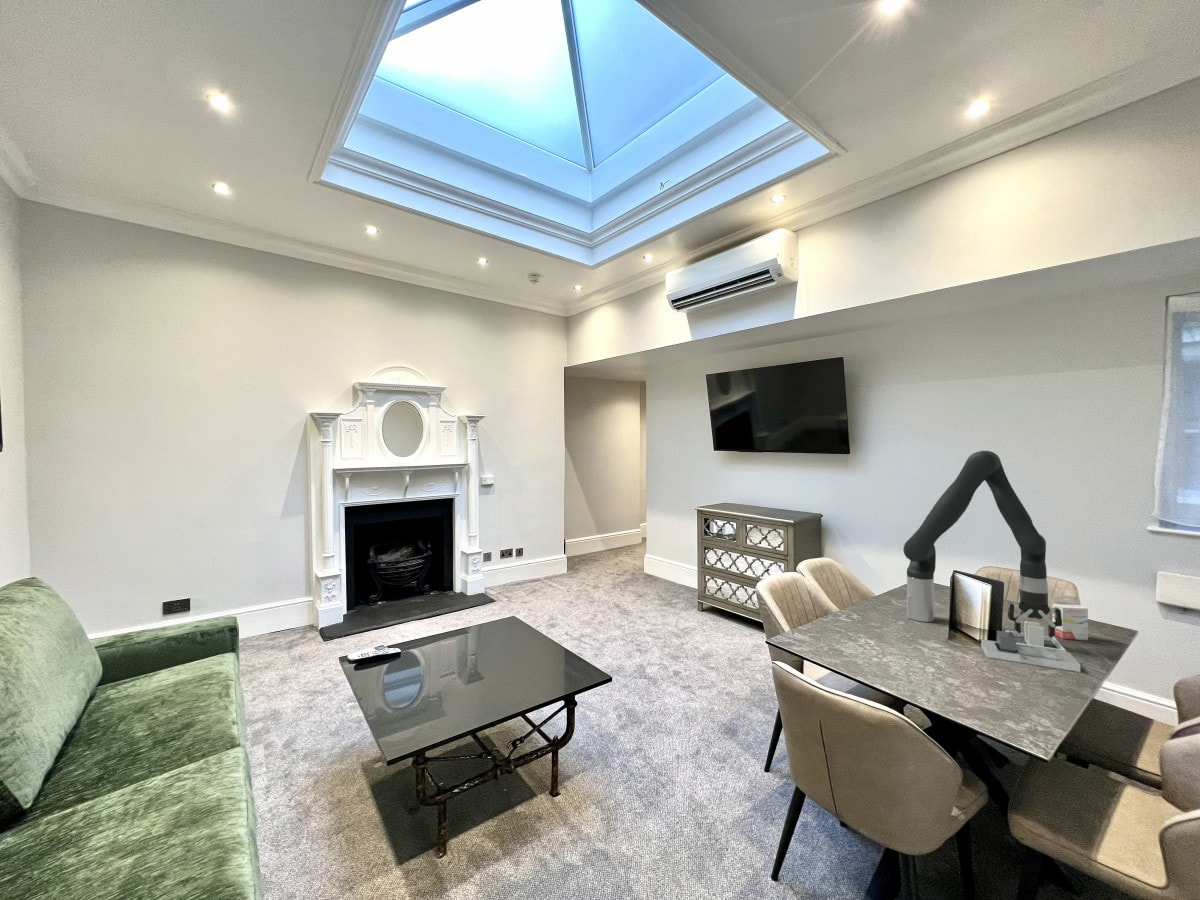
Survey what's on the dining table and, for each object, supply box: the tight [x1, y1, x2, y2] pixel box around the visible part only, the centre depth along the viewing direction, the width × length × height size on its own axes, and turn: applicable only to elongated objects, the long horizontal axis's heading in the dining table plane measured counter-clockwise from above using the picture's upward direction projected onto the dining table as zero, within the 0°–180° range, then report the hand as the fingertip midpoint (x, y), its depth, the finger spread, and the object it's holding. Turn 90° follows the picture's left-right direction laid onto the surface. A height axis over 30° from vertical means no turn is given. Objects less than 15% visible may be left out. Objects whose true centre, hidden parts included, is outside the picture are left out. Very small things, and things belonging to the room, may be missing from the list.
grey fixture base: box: [980, 630, 1081, 673], centre depth 160 cm, size 23×10×7 cm, turn 60°
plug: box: [1023, 620, 1045, 647], centre depth 171 cm, size 4×6×7 cm, turn 150°
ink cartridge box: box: [1051, 595, 1089, 641], centre depth 176 cm, size 9×5×15 cm, turn 84°
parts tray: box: [1004, 629, 1067, 652], centre depth 171 cm, size 14×14×2 cm
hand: (1034, 634), depth 171 cm, fingers open, 8 cm apart
